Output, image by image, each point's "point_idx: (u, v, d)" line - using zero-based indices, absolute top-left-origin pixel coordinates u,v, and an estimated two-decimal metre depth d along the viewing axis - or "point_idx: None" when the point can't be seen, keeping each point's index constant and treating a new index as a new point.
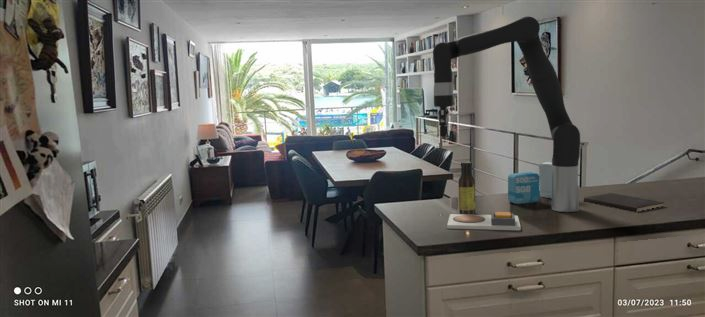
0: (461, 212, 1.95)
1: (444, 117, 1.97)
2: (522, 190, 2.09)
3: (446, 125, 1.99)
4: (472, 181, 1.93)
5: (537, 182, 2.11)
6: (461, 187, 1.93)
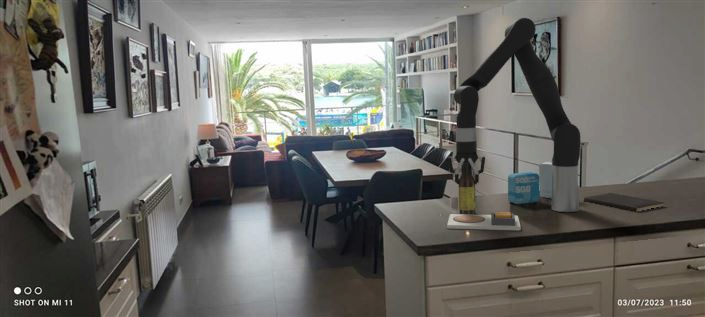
0: (461, 212, 1.95)
1: None
2: (522, 190, 2.09)
3: None
4: (472, 181, 1.93)
5: (537, 182, 2.11)
6: (461, 187, 1.93)
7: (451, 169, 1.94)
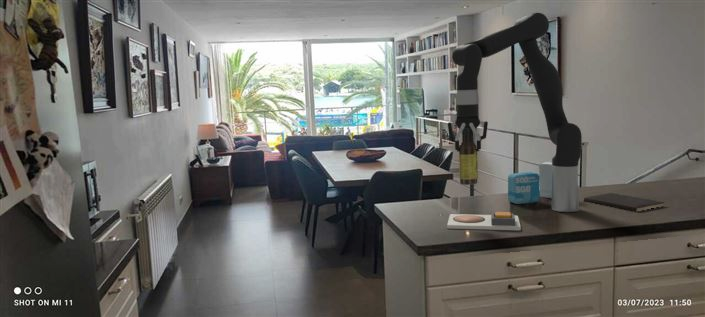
0: (462, 182, 1.80)
1: None
2: (522, 190, 2.09)
3: None
4: (474, 148, 1.78)
5: (537, 182, 2.11)
6: (462, 154, 1.79)
7: (451, 135, 1.80)
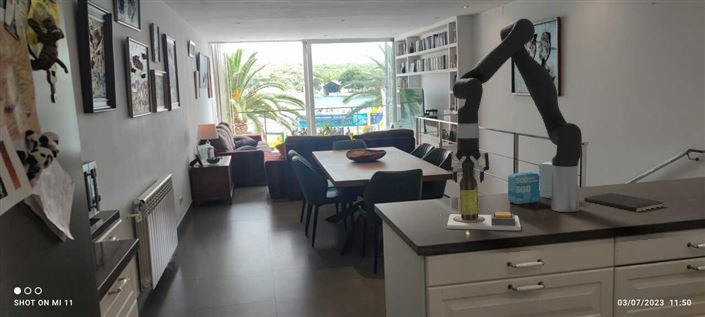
0: (463, 217, 1.82)
1: None
2: (522, 190, 2.09)
3: None
4: (474, 183, 1.80)
5: (537, 182, 2.11)
6: (463, 190, 1.80)
7: (449, 166, 1.82)
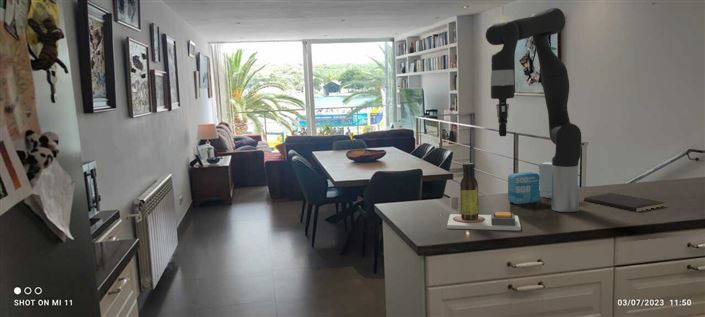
0: (463, 217, 1.82)
1: None
2: (522, 190, 2.09)
3: (498, 122, 1.76)
4: (475, 183, 1.80)
5: (537, 182, 2.11)
6: (463, 190, 1.80)
7: (506, 119, 1.67)
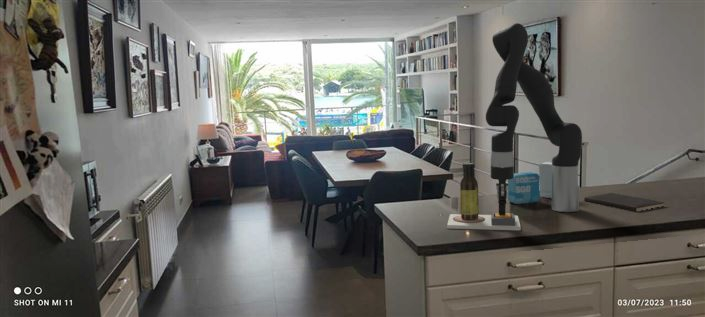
0: (463, 217, 1.82)
1: None
2: (522, 190, 2.09)
3: None
4: (475, 183, 1.80)
5: (537, 182, 2.11)
6: (463, 190, 1.80)
7: None
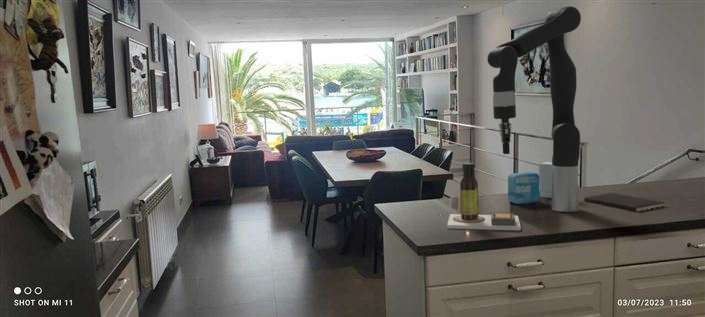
0: (463, 217, 1.82)
1: None
2: (522, 190, 2.09)
3: None
4: (475, 183, 1.80)
5: (537, 182, 2.11)
6: (463, 190, 1.80)
7: (509, 138, 1.79)
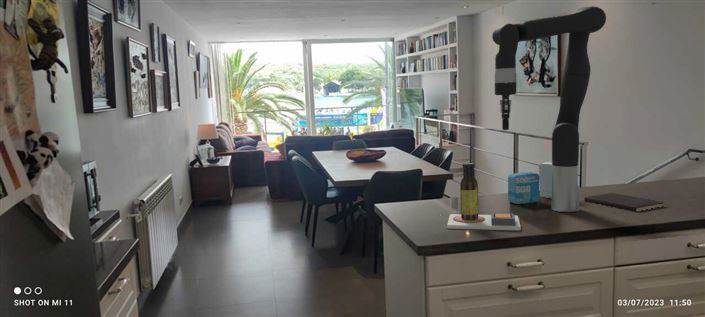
0: (463, 217, 1.82)
1: None
2: (522, 190, 2.09)
3: None
4: (475, 183, 1.80)
5: (537, 182, 2.11)
6: (463, 190, 1.80)
7: None
